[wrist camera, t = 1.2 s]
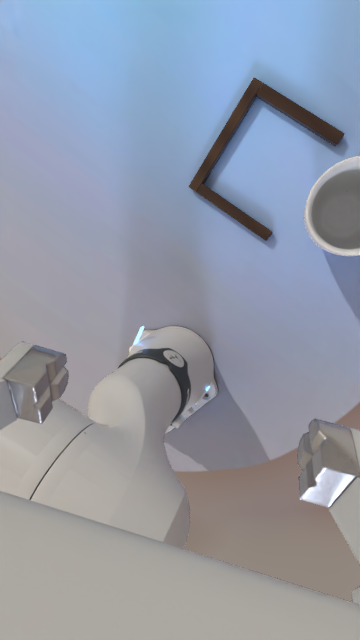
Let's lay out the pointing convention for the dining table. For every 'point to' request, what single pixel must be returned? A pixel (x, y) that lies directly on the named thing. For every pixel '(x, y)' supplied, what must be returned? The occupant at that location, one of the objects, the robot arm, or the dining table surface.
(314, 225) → the mug
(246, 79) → the dining table surface
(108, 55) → the dining table surface
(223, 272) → the dining table surface
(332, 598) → the robot arm
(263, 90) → the bay rails
